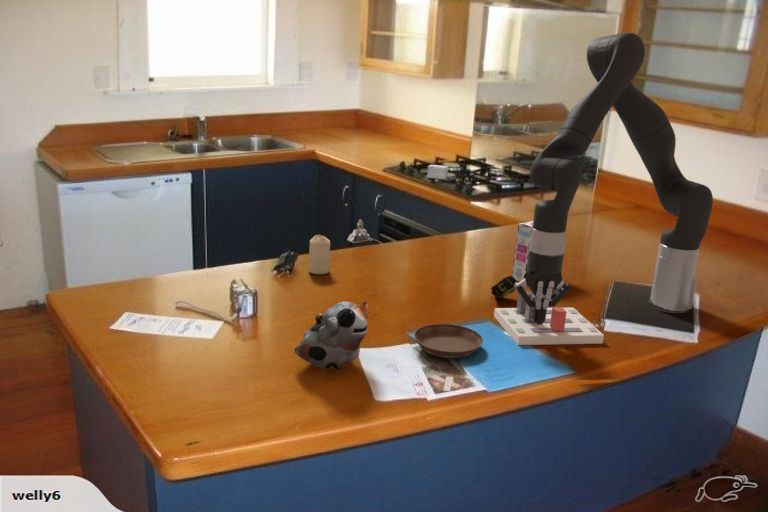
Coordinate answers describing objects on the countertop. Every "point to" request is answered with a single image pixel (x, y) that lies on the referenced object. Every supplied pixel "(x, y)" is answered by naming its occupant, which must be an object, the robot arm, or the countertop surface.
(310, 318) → the countertop surface
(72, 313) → the countertop surface
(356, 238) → the grey stone figurine
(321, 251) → the candle
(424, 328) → the saucer
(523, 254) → the candy bar box
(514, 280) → the tape measure
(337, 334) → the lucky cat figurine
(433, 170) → the medicine box
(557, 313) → the block
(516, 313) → the breaker panel
